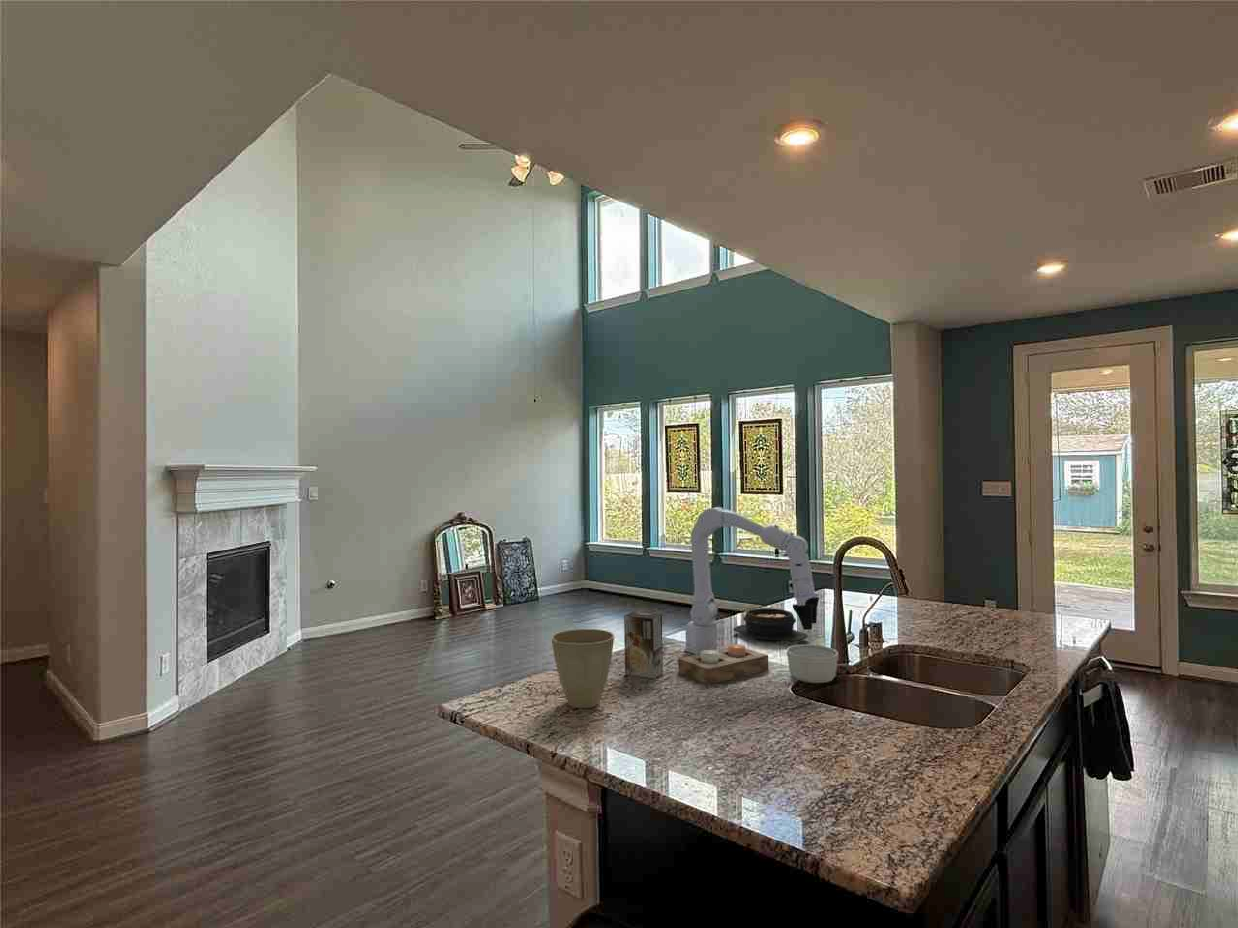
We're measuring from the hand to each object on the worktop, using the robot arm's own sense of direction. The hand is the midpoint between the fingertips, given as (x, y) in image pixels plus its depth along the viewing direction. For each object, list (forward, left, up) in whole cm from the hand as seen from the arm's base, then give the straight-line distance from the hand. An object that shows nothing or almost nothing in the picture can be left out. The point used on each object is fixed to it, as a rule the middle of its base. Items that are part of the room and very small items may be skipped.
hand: (810, 626), depth 186 cm
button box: (-9, -25, -10) cm, 29 cm away
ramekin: (+8, -10, -11) cm, 17 cm away
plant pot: (-10, -70, -11) cm, 71 cm away
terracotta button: (-9, -20, -8) cm, 24 cm away
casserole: (-27, +12, -11) cm, 31 cm away
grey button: (-9, -30, -8) cm, 33 cm away
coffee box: (-20, -45, -11) cm, 50 cm away
